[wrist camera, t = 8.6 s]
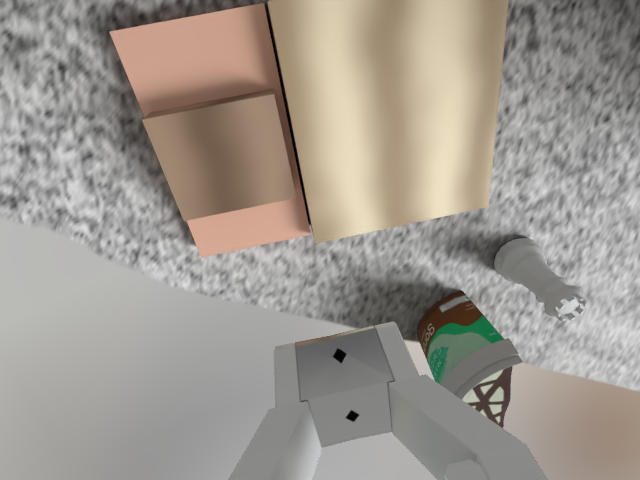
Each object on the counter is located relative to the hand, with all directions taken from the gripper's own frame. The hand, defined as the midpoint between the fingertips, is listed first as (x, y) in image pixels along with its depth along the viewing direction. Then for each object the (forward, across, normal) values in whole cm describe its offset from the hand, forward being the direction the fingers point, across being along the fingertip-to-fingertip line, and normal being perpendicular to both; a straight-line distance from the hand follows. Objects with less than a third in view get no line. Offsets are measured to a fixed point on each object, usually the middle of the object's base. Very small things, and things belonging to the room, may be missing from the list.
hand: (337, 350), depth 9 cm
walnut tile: (+19, +4, 0) cm, 20 cm away
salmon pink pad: (+21, +4, 0) cm, 21 cm away
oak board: (+21, -7, 0) cm, 22 cm away
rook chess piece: (+21, -19, +16) cm, 33 cm away
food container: (+21, -11, +24) cm, 34 cm away
